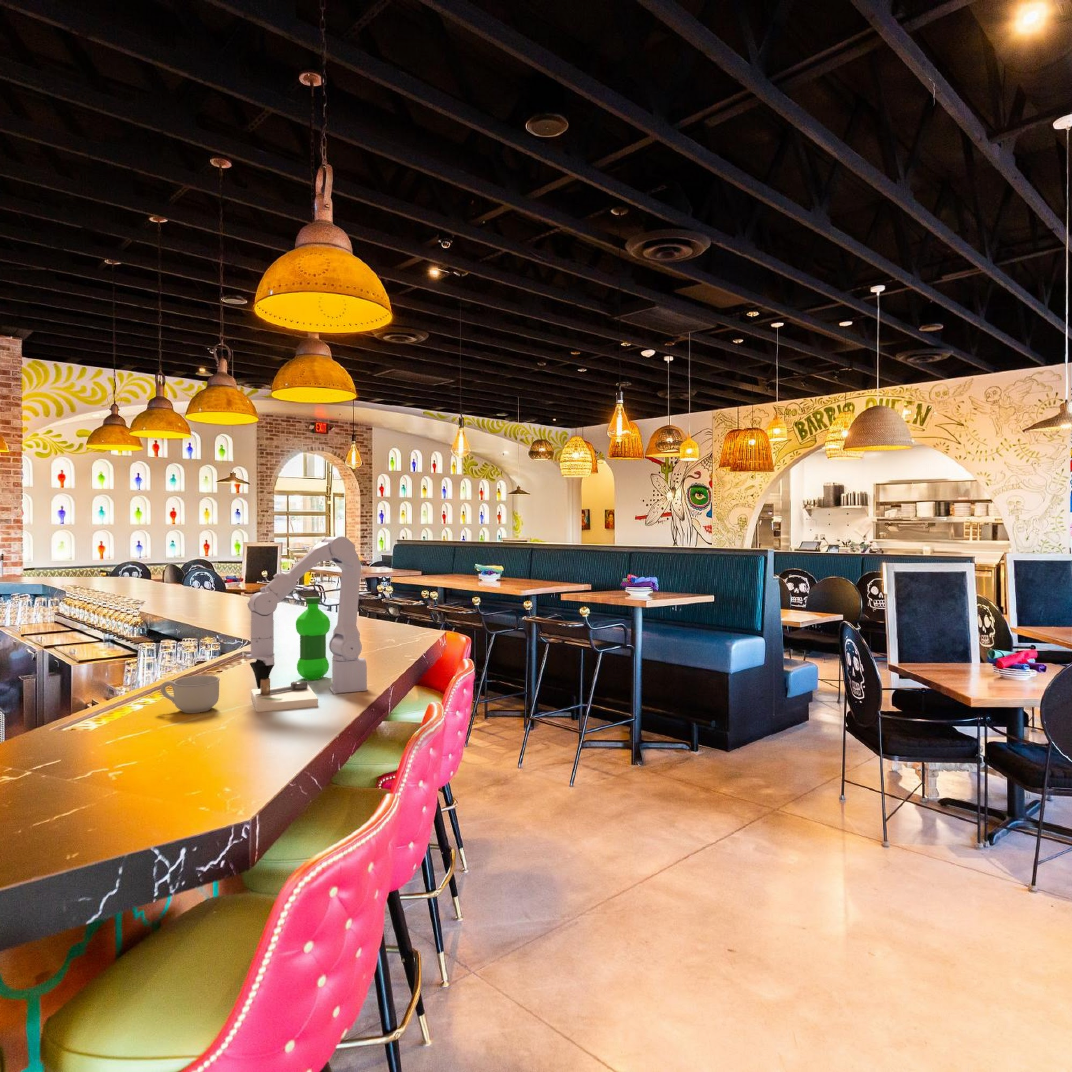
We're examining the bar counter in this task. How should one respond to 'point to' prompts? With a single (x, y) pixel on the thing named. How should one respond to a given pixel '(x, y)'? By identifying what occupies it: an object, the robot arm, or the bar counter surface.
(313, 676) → the plastic bottle
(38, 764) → the bar counter surface
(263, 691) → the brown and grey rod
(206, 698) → the teacup
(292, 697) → the board
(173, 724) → the bar counter surface
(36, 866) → the bar counter surface
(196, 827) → the bar counter surface
